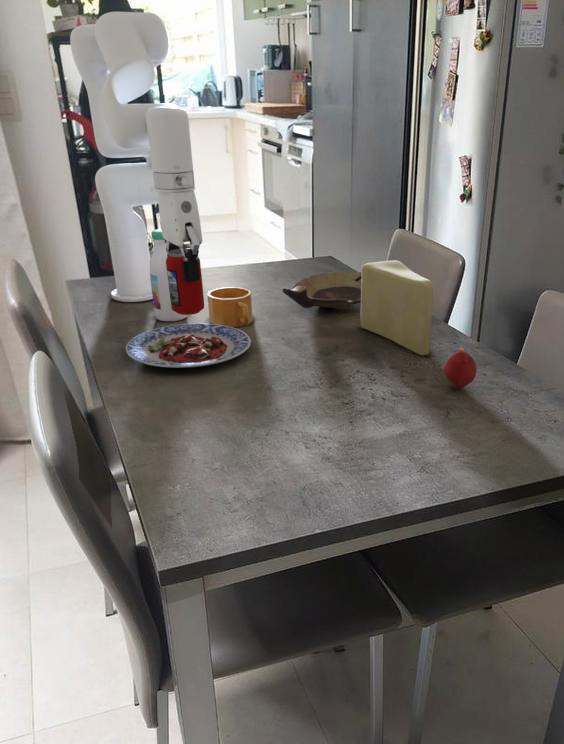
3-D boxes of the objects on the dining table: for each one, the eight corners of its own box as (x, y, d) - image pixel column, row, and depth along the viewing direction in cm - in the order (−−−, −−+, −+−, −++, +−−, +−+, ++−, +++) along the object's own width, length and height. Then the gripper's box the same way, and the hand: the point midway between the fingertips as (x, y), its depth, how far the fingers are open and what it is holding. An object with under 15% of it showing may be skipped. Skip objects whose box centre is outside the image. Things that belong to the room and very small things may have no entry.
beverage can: (173, 306, 146) (166, 248, 140) (206, 306, 147) (200, 247, 140) (170, 316, 140) (162, 256, 134) (203, 316, 141) (197, 255, 135)
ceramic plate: (273, 342, 152) (272, 329, 150) (207, 385, 132) (206, 370, 131) (176, 326, 161) (174, 313, 160) (100, 364, 141) (98, 350, 140)
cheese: (446, 353, 147) (452, 281, 139) (406, 359, 143) (410, 287, 135) (395, 322, 164) (398, 257, 156) (358, 327, 160) (360, 261, 153)
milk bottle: (191, 312, 170) (182, 227, 160) (183, 322, 164) (173, 234, 153) (161, 311, 171) (150, 226, 161) (151, 321, 164) (139, 233, 154)
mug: (203, 318, 167) (200, 291, 163) (240, 311, 171) (239, 284, 168) (228, 334, 157) (226, 305, 154) (267, 326, 162) (265, 298, 158)
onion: (476, 384, 132) (481, 344, 128) (471, 396, 128) (476, 355, 124) (446, 380, 134) (449, 341, 130) (440, 392, 129) (443, 351, 125)
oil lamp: (401, 308, 173) (402, 277, 169) (292, 326, 162) (291, 293, 158) (357, 286, 190) (358, 257, 186) (256, 300, 179) (254, 270, 175)
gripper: (211, 185, 126) (220, 284, 135) (175, 174, 138) (185, 265, 148) (172, 189, 123) (184, 290, 132) (138, 177, 135) (151, 270, 144)
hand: (184, 276), depth 140 cm, fingers closed on beverage can, 6 cm apart
